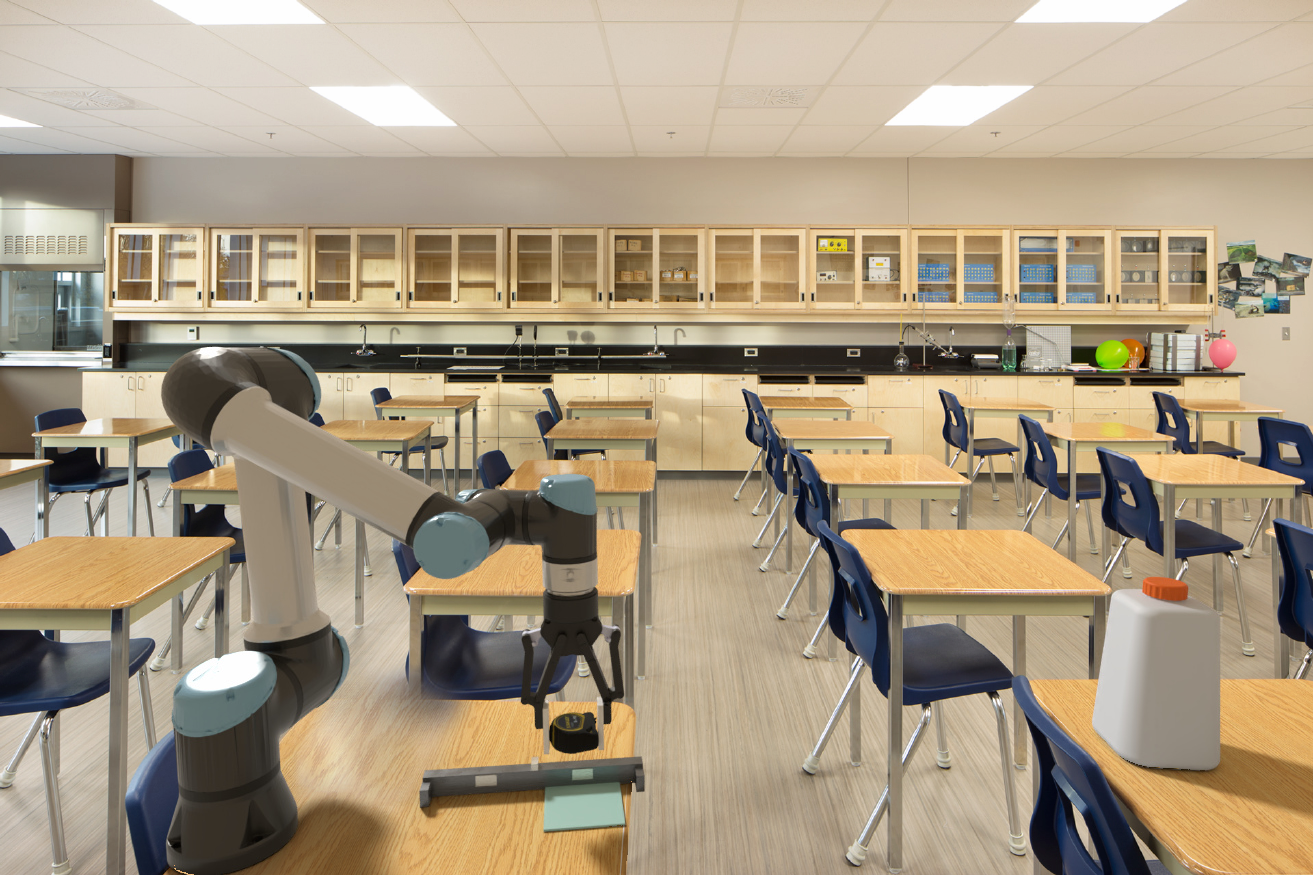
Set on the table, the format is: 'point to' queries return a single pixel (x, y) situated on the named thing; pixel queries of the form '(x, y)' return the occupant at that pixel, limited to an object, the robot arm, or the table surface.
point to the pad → (583, 806)
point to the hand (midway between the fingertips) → (573, 746)
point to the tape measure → (574, 733)
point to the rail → (530, 777)
